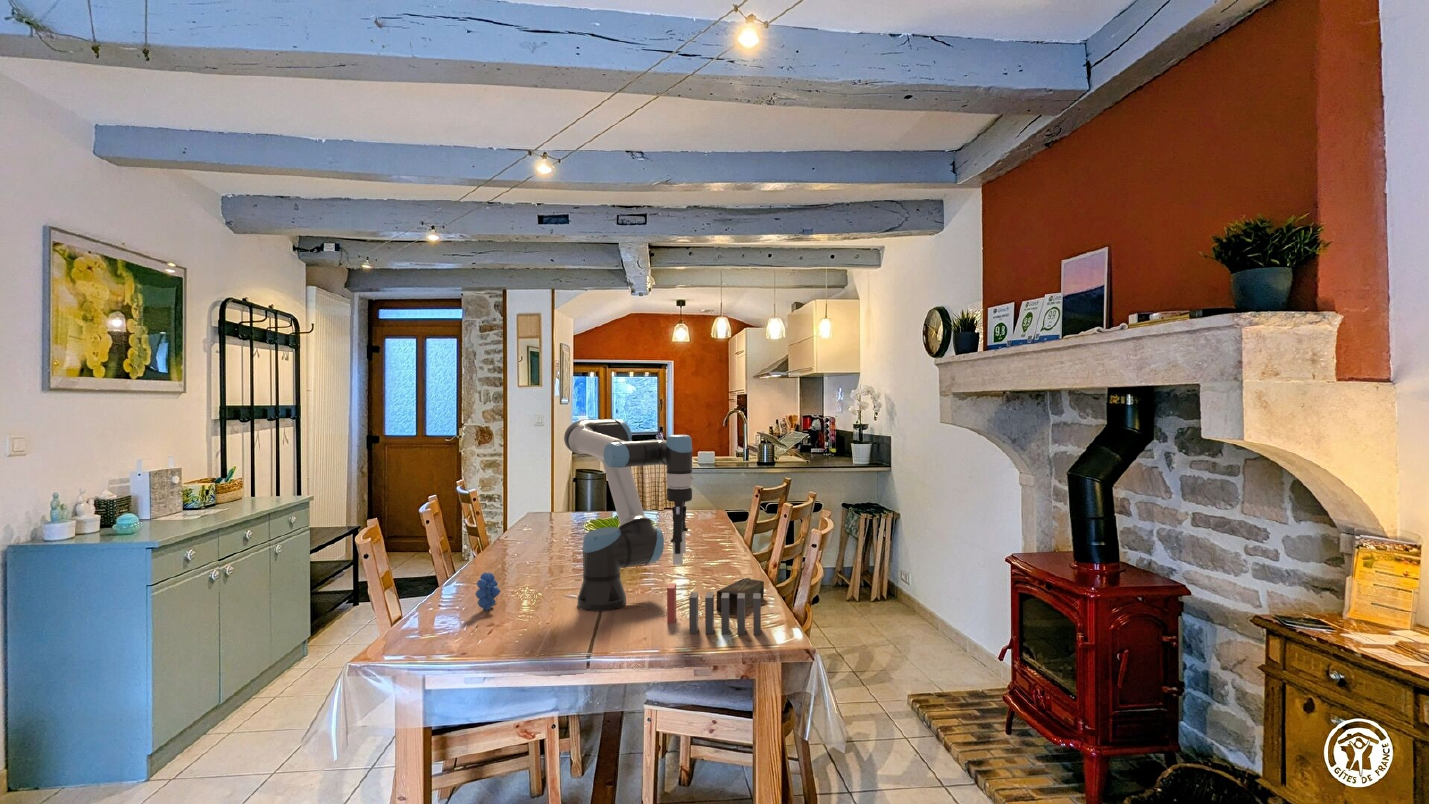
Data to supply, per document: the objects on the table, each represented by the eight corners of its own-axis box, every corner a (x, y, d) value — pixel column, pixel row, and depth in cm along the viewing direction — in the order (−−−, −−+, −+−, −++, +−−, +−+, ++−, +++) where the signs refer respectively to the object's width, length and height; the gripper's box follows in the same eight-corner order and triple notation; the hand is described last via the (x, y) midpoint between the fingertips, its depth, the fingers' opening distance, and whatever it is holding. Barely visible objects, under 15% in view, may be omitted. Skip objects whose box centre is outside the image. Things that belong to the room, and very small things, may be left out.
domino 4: (737, 634, 188) (737, 598, 188) (737, 628, 193) (737, 593, 193) (744, 634, 188) (744, 598, 188) (745, 628, 193) (744, 593, 193)
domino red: (667, 622, 198) (667, 588, 198) (669, 617, 203) (669, 583, 203) (674, 622, 198) (673, 588, 198) (676, 617, 203) (676, 583, 203)
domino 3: (721, 634, 188) (721, 598, 188) (722, 628, 193) (722, 592, 193) (728, 634, 188) (728, 598, 188) (729, 628, 193) (729, 592, 193)
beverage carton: (765, 599, 222) (765, 578, 222) (738, 615, 205) (738, 593, 205) (743, 595, 226) (743, 575, 226) (715, 611, 209) (714, 590, 209)
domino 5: (753, 634, 188) (753, 598, 188) (753, 628, 193) (753, 593, 193) (760, 635, 187) (760, 598, 187) (760, 628, 192) (760, 593, 192)
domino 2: (705, 634, 189) (705, 597, 188) (706, 627, 194) (706, 592, 193) (712, 634, 188) (712, 597, 188) (713, 628, 193) (713, 592, 193)
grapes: (492, 617, 204) (492, 576, 204) (470, 616, 205) (470, 576, 205) (508, 605, 216) (508, 567, 216) (487, 604, 217) (487, 566, 217)
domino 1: (689, 633, 189) (689, 597, 189) (691, 627, 194) (691, 592, 194) (696, 633, 189) (696, 597, 189) (698, 627, 194) (698, 592, 194)
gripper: (689, 493, 190) (689, 569, 190) (694, 481, 215) (694, 549, 215) (662, 493, 190) (662, 569, 191) (670, 481, 215) (670, 549, 216)
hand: (679, 558), depth 203 cm, fingers open, 13 cm apart
